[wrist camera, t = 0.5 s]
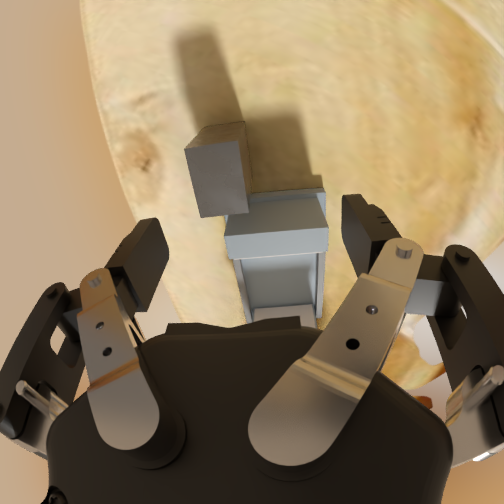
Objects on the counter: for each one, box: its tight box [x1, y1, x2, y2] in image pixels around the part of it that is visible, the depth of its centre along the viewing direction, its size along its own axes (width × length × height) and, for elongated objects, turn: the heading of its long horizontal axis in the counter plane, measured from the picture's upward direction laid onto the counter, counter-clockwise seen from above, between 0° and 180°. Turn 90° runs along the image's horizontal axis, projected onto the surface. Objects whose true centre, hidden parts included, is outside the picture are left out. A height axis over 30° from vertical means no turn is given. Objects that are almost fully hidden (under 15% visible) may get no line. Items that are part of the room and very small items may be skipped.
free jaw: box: [252, 304, 317, 328], centre depth 36 cm, size 3×10×7 cm, turn 97°
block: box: [184, 121, 252, 218], centre depth 24 cm, size 4×6×8 cm, turn 7°
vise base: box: [224, 188, 329, 323], centre depth 32 cm, size 20×11×7 cm, turn 7°
